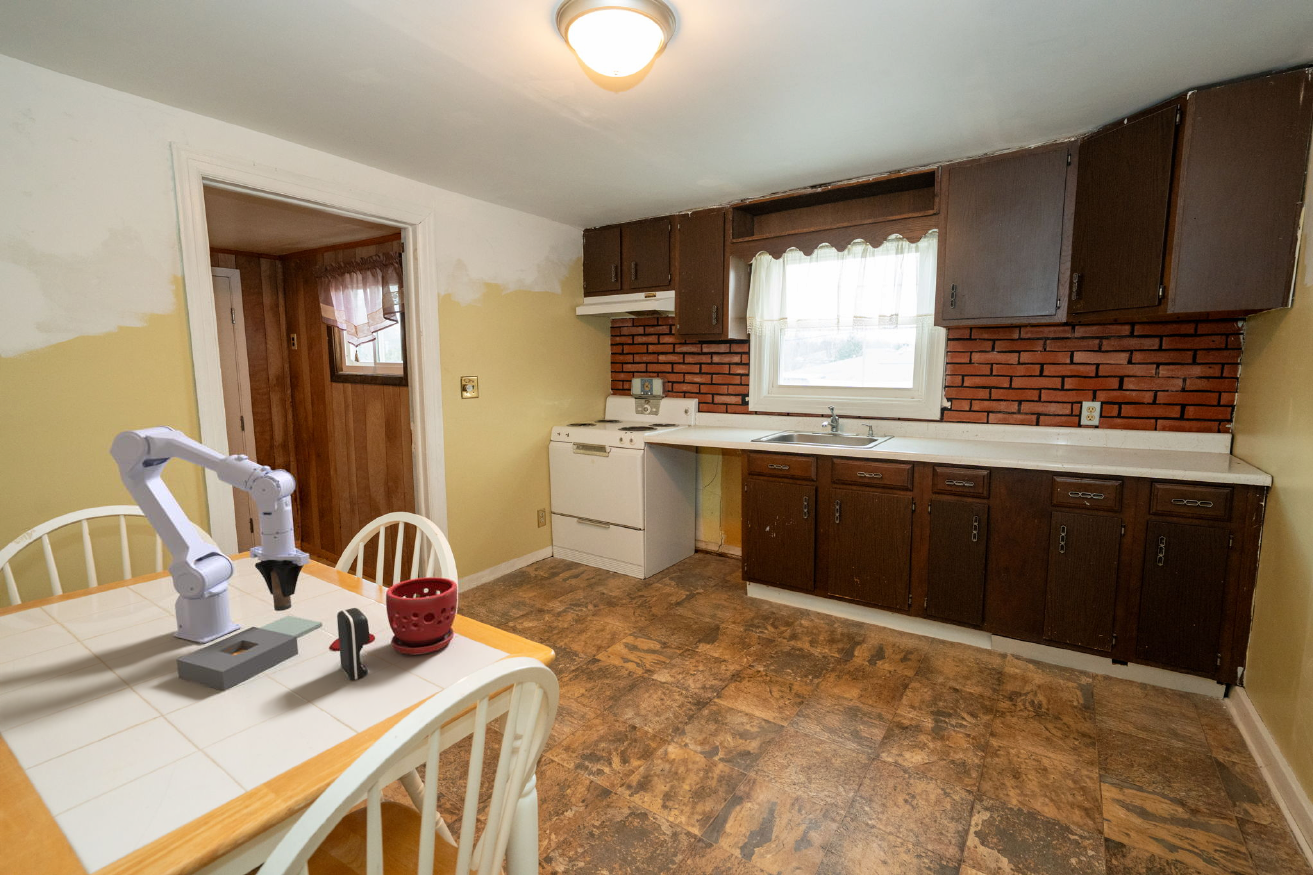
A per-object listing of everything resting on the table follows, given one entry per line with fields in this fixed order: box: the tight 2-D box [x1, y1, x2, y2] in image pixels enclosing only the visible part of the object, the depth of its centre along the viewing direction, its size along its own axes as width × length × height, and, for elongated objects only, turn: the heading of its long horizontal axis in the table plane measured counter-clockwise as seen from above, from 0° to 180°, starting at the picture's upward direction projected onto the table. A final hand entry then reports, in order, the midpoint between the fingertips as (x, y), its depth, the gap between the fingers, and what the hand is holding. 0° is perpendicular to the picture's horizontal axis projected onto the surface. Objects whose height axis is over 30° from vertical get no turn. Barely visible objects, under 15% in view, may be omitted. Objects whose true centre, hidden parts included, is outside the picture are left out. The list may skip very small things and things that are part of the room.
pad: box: [260, 615, 323, 639], centre depth 126 cm, size 10×9×1 cm
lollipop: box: [329, 632, 376, 652], centre depth 125 cm, size 8×1×15 cm
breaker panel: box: [176, 626, 299, 692], centre depth 112 cm, size 12×14×4 cm
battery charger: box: [336, 607, 370, 681], centre depth 109 cm, size 7×4×11 cm, turn 42°
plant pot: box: [385, 576, 458, 656], centre depth 120 cm, size 13×13×12 cm
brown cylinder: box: [271, 570, 292, 612], centre depth 125 cm, size 3×3×8 cm
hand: (282, 594), depth 125 cm, fingers closed on brown cylinder, 3 cm apart
